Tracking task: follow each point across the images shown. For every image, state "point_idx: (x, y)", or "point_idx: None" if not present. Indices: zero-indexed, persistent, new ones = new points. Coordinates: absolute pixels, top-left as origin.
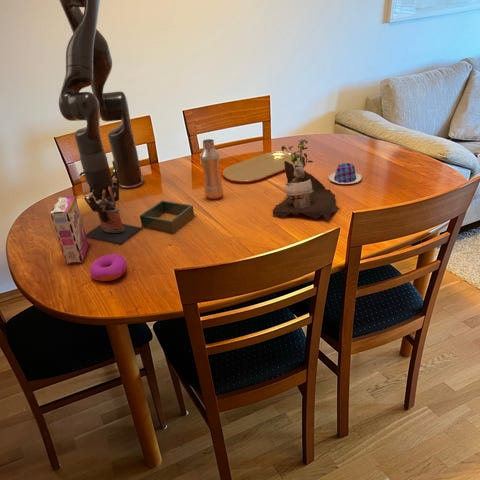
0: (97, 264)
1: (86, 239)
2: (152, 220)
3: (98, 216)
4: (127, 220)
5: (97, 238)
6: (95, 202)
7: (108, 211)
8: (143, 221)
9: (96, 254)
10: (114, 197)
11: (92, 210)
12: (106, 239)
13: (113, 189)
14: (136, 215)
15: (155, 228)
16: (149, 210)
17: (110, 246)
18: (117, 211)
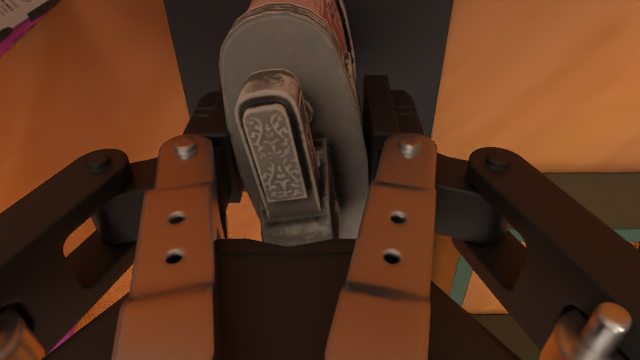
0: None
1: (14, 38)
2: (444, 287)
3: (248, 9)
4: (534, 11)
5: (164, 2)
6: (44, 346)
7: (257, 212)
8: None
9: (41, 133)
10: (474, 230)
11: (72, 167)
12: (194, 82)
13: (554, 307)
14: (636, 26)
15: (433, 255)
16: None
17: (159, 148)
18: None
